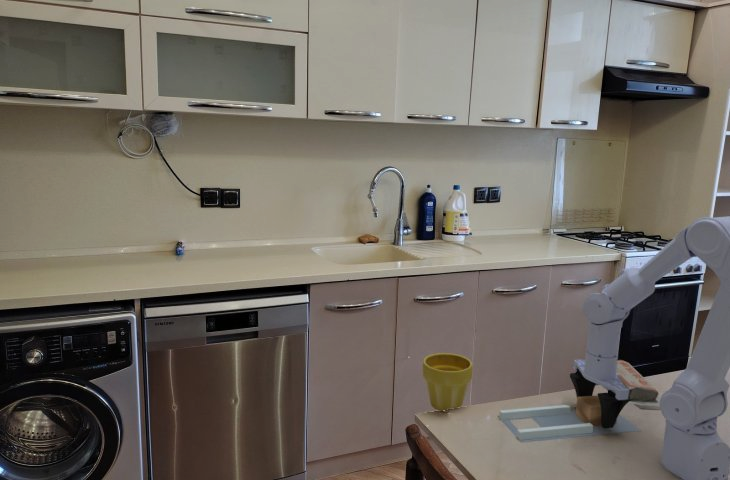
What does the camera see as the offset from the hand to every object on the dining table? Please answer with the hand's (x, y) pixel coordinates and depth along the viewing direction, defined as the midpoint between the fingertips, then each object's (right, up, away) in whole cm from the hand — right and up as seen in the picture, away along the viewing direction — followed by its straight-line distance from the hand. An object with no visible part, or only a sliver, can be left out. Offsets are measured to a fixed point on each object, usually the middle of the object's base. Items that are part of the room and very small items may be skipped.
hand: (595, 417), depth 107 cm
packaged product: (+14, 0, +16) cm, 21 cm away
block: (0, -1, 0) cm, 1 cm away
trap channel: (-6, -2, -1) cm, 6 cm away
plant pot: (-29, 0, +8) cm, 30 cm away
